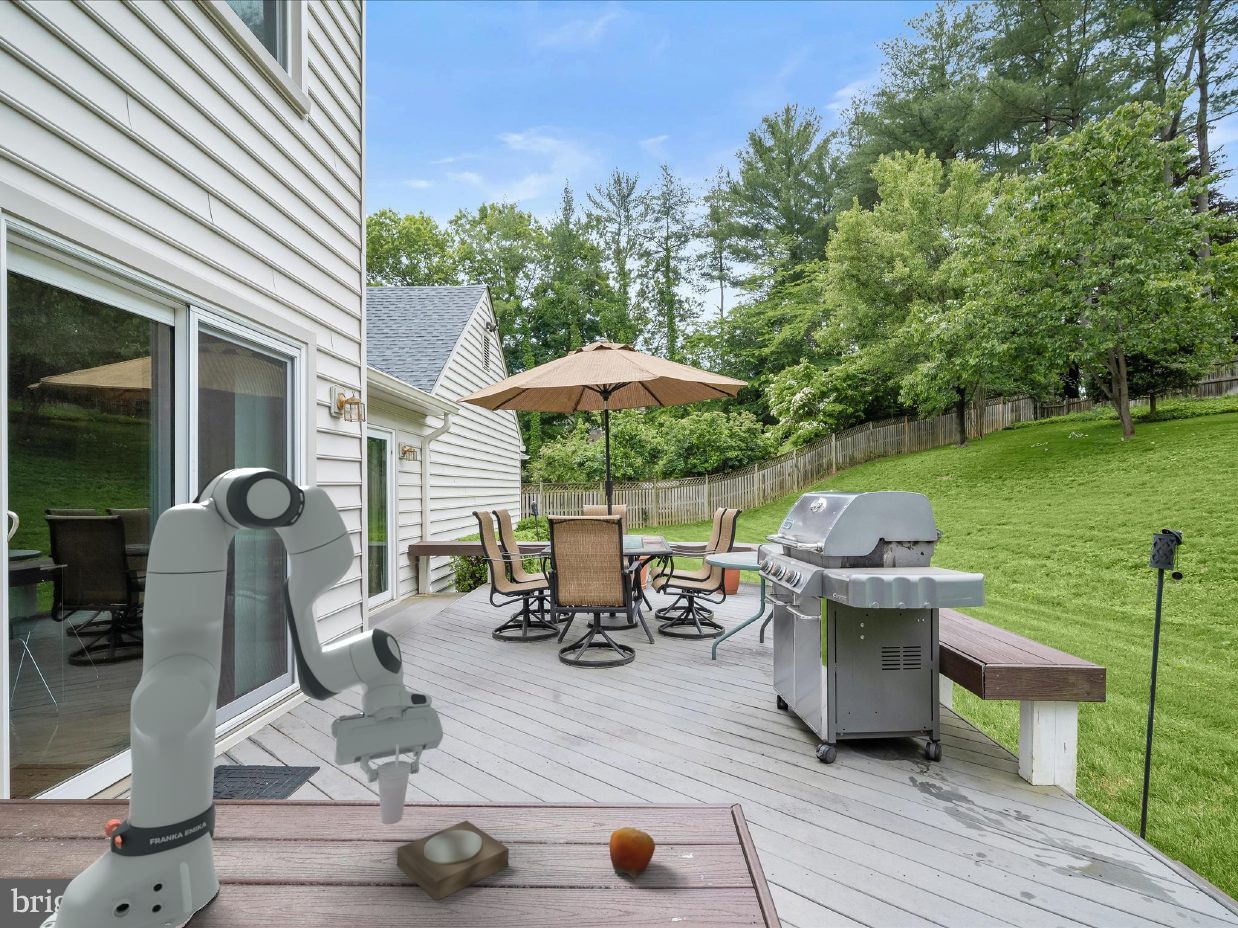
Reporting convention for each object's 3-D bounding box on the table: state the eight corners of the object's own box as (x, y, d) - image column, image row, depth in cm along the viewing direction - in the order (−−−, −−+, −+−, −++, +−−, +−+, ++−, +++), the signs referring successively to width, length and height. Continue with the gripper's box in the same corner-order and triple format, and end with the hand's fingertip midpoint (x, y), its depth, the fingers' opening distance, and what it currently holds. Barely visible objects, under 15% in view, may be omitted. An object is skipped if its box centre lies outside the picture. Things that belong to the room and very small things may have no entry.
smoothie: (397, 829, 113) (401, 751, 114) (366, 825, 115) (370, 748, 116) (415, 813, 120) (418, 739, 121) (386, 809, 121) (389, 736, 122)
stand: (436, 900, 99) (436, 877, 100) (397, 865, 109) (397, 844, 110) (508, 865, 109) (508, 844, 110) (466, 836, 119) (466, 816, 119)
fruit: (597, 873, 105) (606, 820, 109) (611, 876, 111) (619, 826, 115) (642, 884, 102) (650, 829, 106) (654, 886, 108) (661, 834, 112)
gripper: (332, 709, 119) (337, 780, 110) (438, 694, 130) (450, 758, 121) (328, 725, 122) (332, 796, 113) (431, 710, 133) (442, 773, 124)
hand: (394, 776), depth 117 cm, fingers closed on smoothie, 6 cm apart
